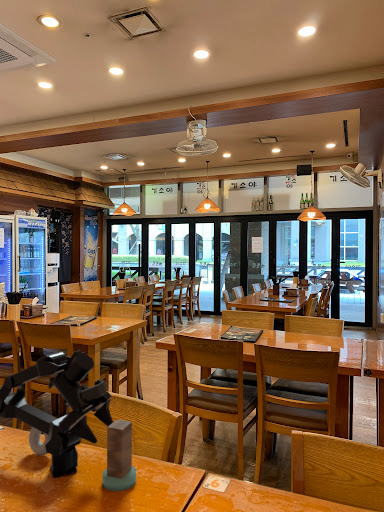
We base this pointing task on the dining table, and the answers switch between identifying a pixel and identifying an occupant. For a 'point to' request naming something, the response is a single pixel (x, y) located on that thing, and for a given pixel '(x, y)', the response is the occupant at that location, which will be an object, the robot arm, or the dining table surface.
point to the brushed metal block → (119, 448)
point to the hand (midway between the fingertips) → (105, 435)
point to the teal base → (119, 481)
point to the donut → (37, 442)
